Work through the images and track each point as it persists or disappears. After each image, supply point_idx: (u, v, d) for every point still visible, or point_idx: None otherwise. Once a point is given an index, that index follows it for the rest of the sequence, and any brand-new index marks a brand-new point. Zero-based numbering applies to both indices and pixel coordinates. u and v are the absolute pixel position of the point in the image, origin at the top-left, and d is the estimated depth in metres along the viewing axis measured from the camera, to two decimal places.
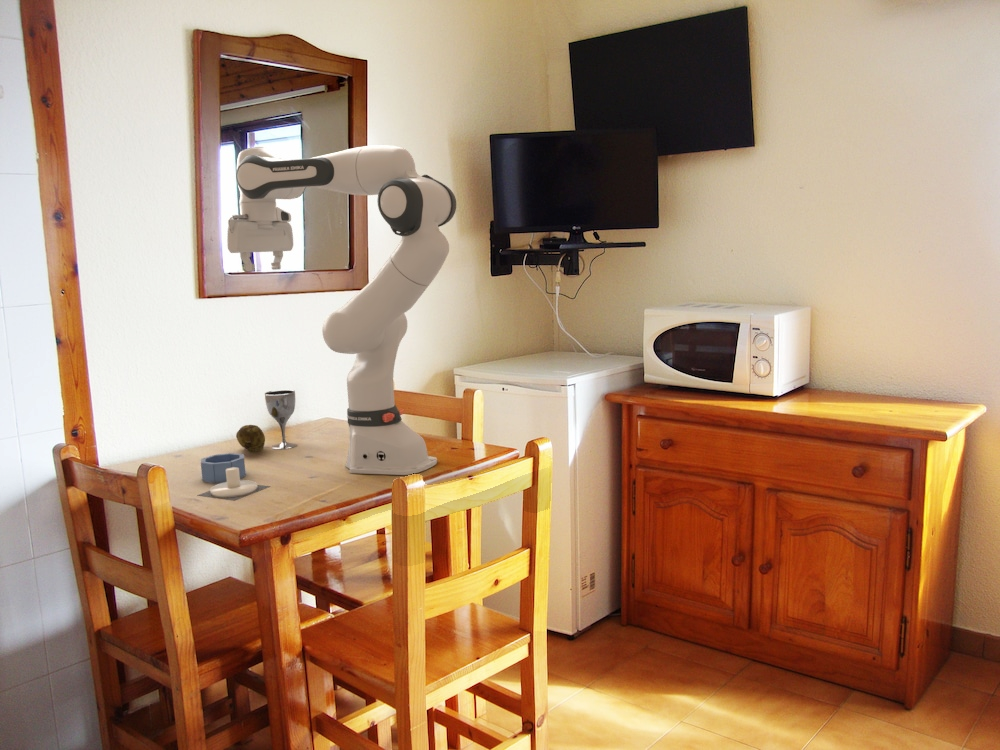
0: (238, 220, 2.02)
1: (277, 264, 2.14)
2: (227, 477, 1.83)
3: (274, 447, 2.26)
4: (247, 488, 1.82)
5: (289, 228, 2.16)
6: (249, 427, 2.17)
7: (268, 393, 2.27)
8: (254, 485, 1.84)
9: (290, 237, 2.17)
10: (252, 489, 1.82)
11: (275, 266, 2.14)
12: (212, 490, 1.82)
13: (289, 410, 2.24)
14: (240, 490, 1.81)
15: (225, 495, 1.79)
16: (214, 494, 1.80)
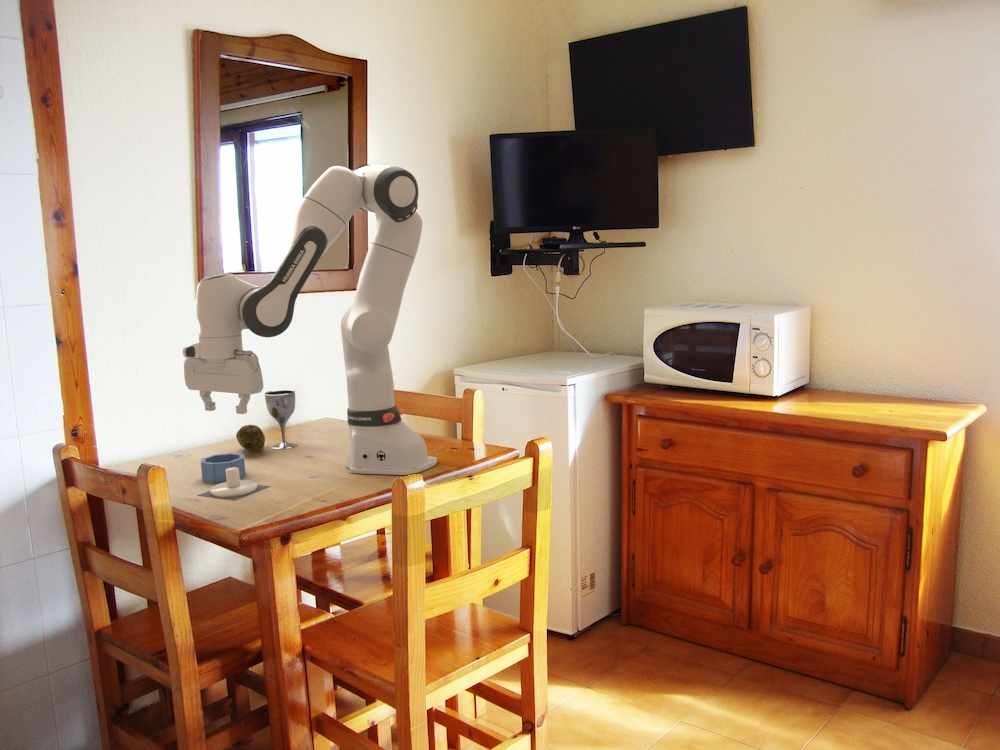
0: None
1: None
2: (227, 477, 1.83)
3: (274, 447, 2.26)
4: (247, 488, 1.82)
5: None
6: (249, 427, 2.17)
7: (268, 393, 2.27)
8: (254, 485, 1.84)
9: None
10: (252, 489, 1.82)
11: (213, 406, 1.84)
12: (212, 490, 1.82)
13: (289, 410, 2.24)
14: (240, 490, 1.81)
15: (225, 495, 1.79)
16: (214, 494, 1.80)
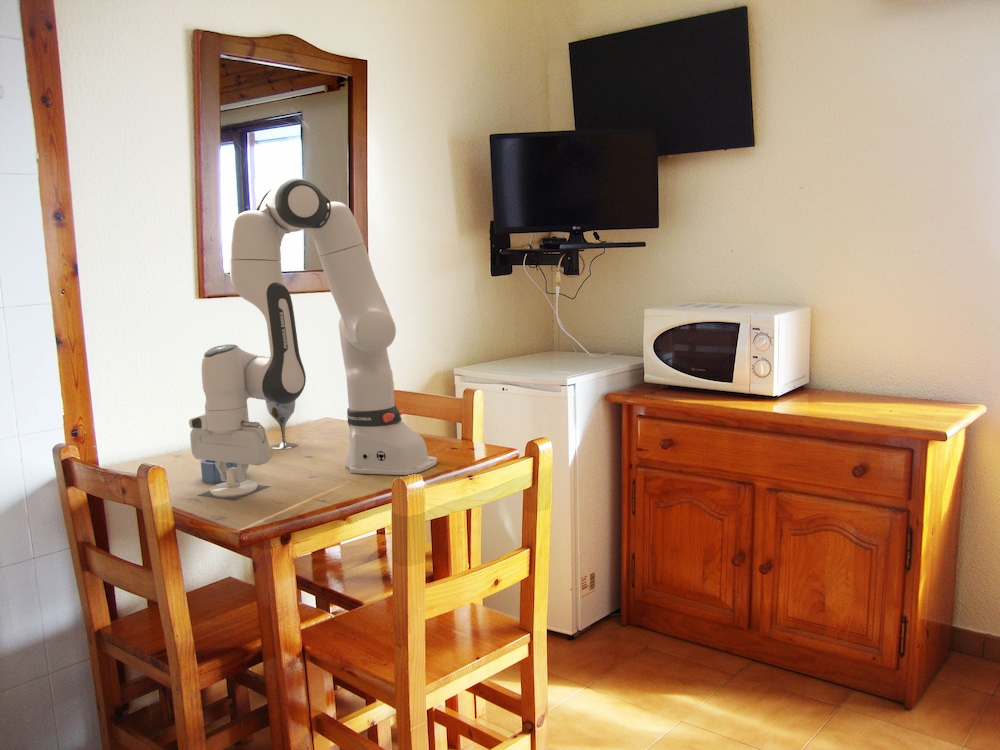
0: None
1: None
2: (227, 477, 1.83)
3: (274, 447, 2.26)
4: (247, 488, 1.82)
5: None
6: None
7: None
8: (254, 485, 1.84)
9: None
10: (252, 489, 1.82)
11: None
12: (212, 490, 1.82)
13: (289, 410, 2.24)
14: (240, 490, 1.81)
15: (225, 495, 1.79)
16: (214, 494, 1.80)
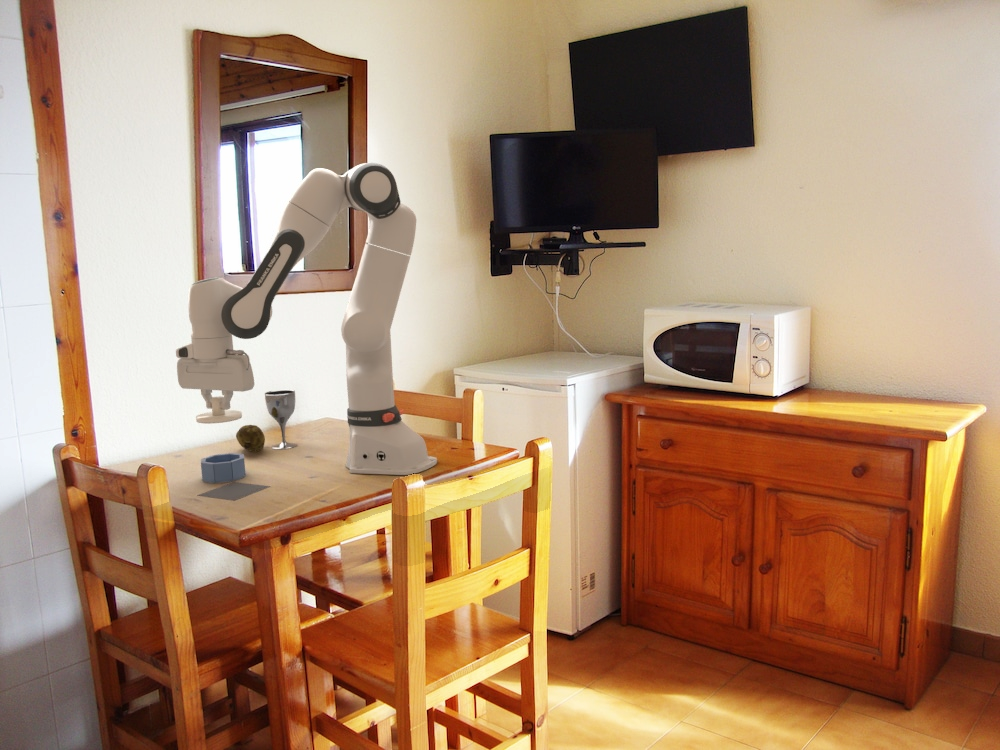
0: None
1: None
2: (212, 405, 1.91)
3: (274, 447, 2.26)
4: (232, 415, 1.90)
5: None
6: (249, 427, 2.17)
7: (268, 393, 2.27)
8: (238, 413, 1.92)
9: None
10: (237, 416, 1.90)
11: None
12: (198, 417, 1.89)
13: (289, 410, 2.24)
14: (225, 417, 1.89)
15: (211, 421, 1.87)
16: (200, 420, 1.88)
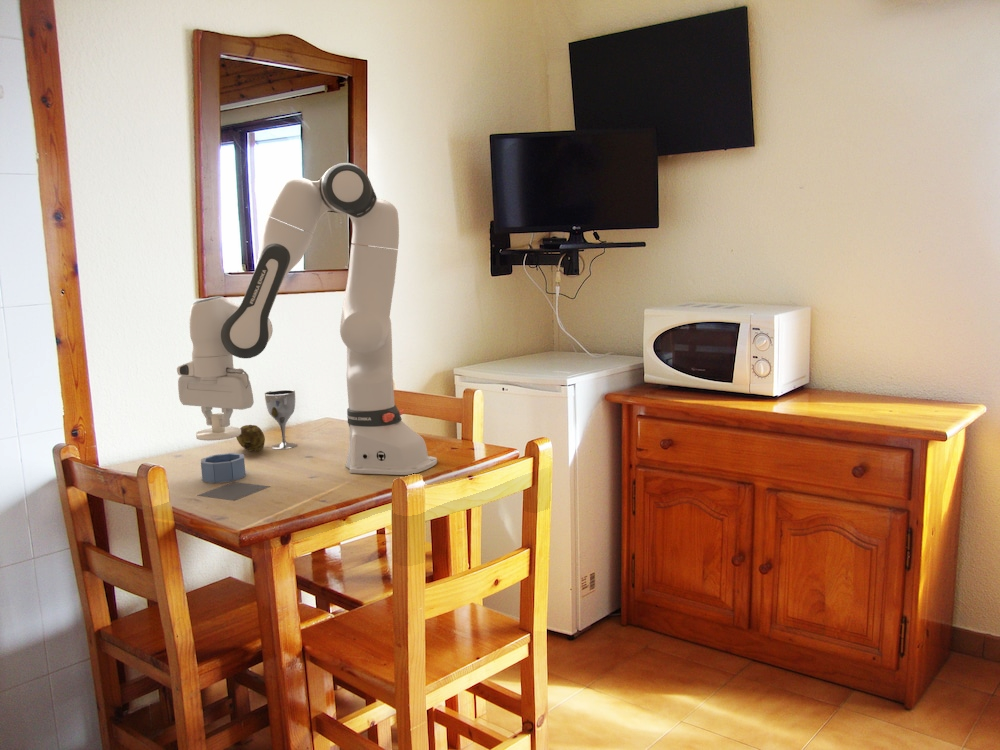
0: None
1: None
2: (212, 422, 1.93)
3: (274, 447, 2.26)
4: (231, 432, 1.93)
5: None
6: (249, 427, 2.17)
7: (268, 393, 2.27)
8: (238, 430, 1.95)
9: None
10: (236, 433, 1.93)
11: None
12: (198, 434, 1.92)
13: (289, 410, 2.24)
14: (224, 434, 1.91)
15: (210, 438, 1.90)
16: (200, 437, 1.91)
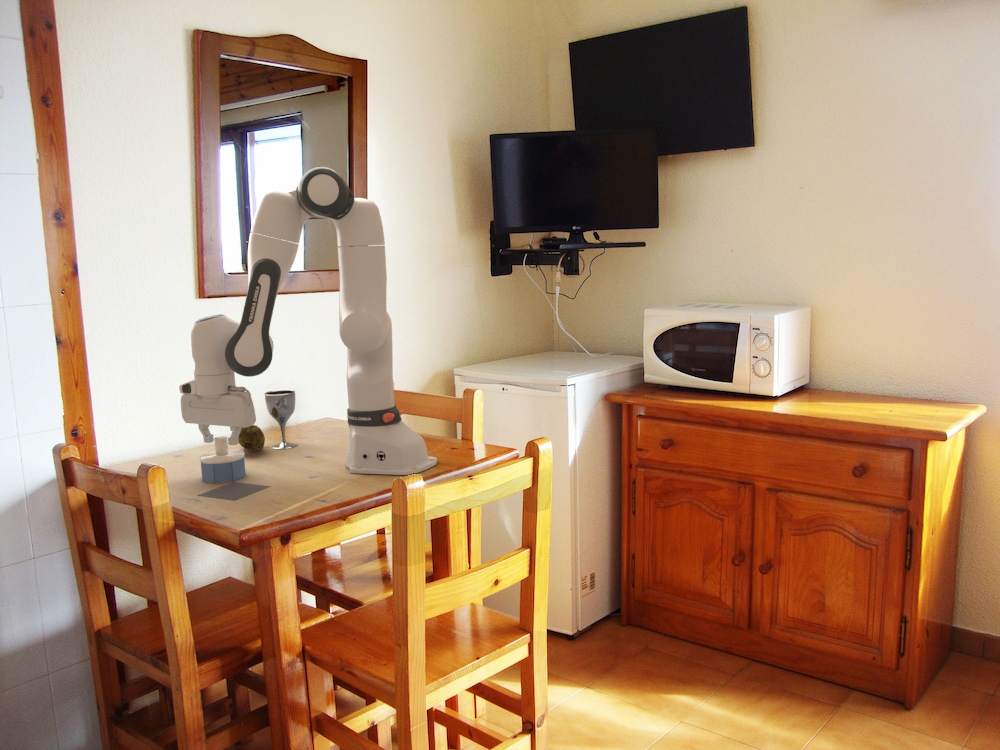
0: None
1: None
2: (216, 445, 1.94)
3: (274, 447, 2.26)
4: (235, 455, 1.94)
5: None
6: (249, 427, 2.17)
7: (268, 393, 2.27)
8: (241, 453, 1.96)
9: None
10: (239, 456, 1.94)
11: (211, 438, 1.97)
12: (202, 457, 1.93)
13: (289, 410, 2.24)
14: (228, 457, 1.92)
15: (214, 461, 1.91)
16: (203, 461, 1.92)
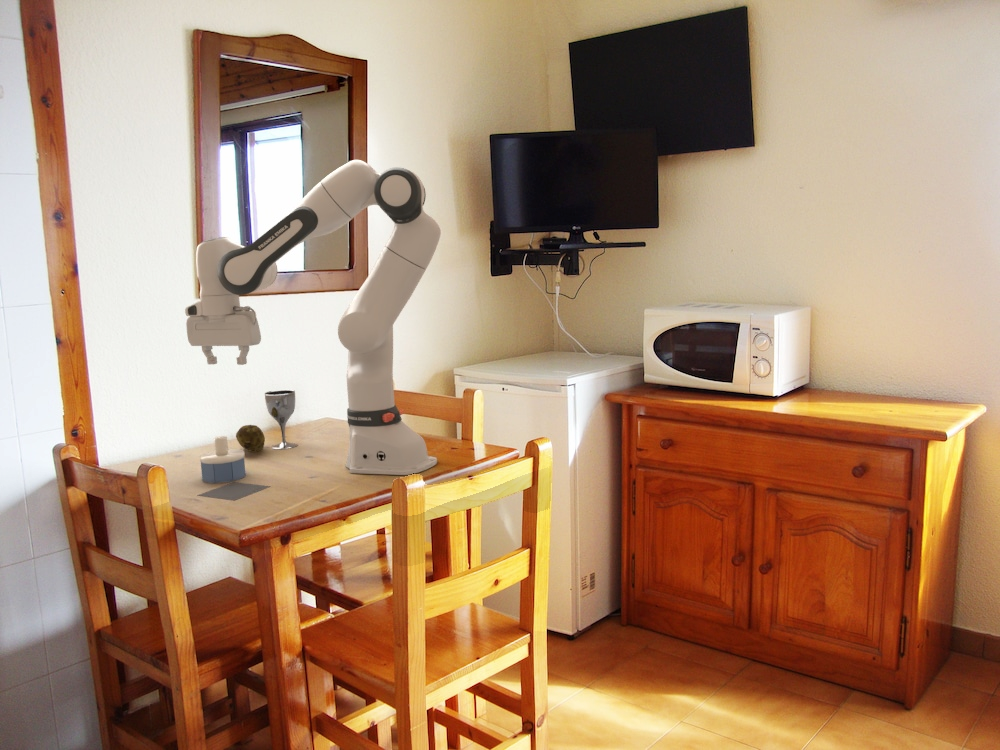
0: None
1: None
2: (216, 445, 1.94)
3: (274, 447, 2.26)
4: (235, 455, 1.94)
5: None
6: (249, 427, 2.17)
7: (268, 393, 2.27)
8: (241, 453, 1.96)
9: None
10: (239, 456, 1.94)
11: (215, 360, 2.02)
12: (202, 457, 1.93)
13: (289, 410, 2.24)
14: (228, 457, 1.92)
15: (214, 461, 1.91)
16: (203, 461, 1.92)
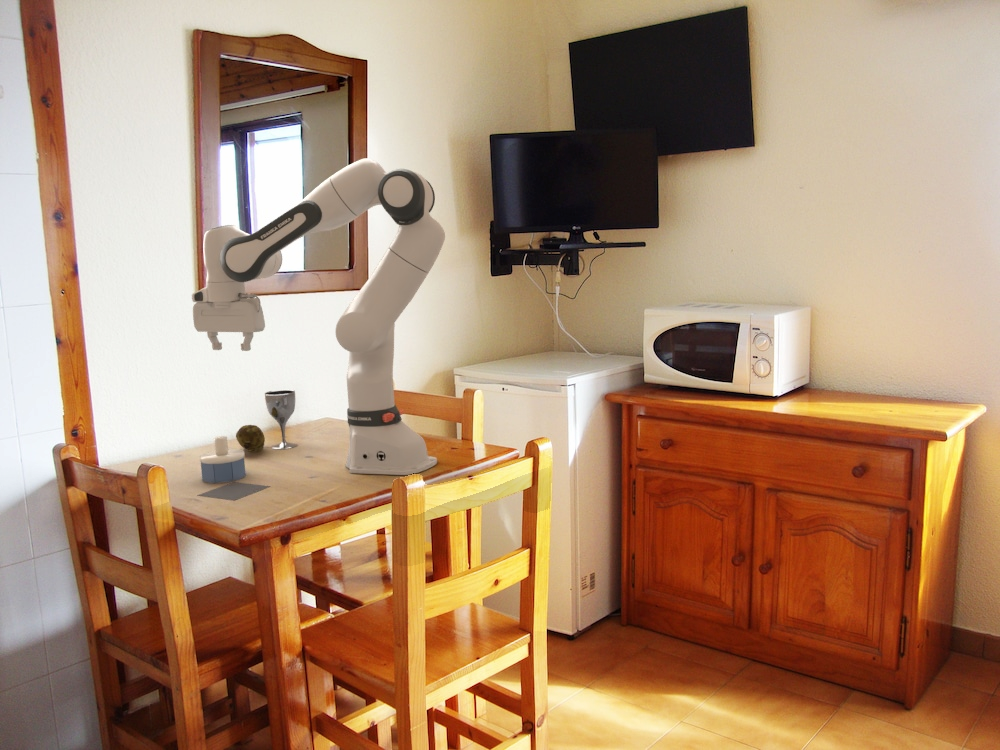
0: None
1: None
2: (216, 445, 1.94)
3: (274, 447, 2.26)
4: (235, 455, 1.94)
5: None
6: (249, 427, 2.17)
7: (268, 393, 2.27)
8: (241, 453, 1.96)
9: None
10: (239, 456, 1.94)
11: (220, 346, 2.06)
12: (202, 457, 1.93)
13: (289, 410, 2.24)
14: (228, 457, 1.92)
15: (214, 461, 1.91)
16: (203, 461, 1.92)
